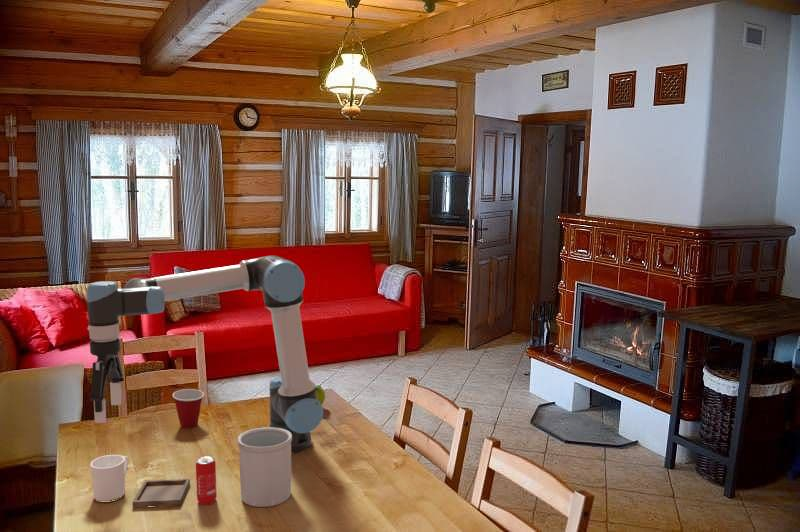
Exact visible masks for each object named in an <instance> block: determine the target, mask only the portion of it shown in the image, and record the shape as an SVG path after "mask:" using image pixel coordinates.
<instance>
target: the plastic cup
mask: <svg viewBox="0 0 800 532" xmlns="http://www.w3.org/2000/svg"><path fill="white" fill-rule="evenodd" d="M204 396H205V392H203V391H202V390H199V389H194V388H185V389H179V390H176V391H174V392H173V393H172V398H173V400H174V403H175V408H176V411H177V412H176V413H177V417H178V419H179V421H178V422H179V424H180V428H182V427H183V428H182V429H186V428H188V429H194V428H196V427H197V426H198V424H199V418H200V414H201V413H200V412H201V407H202V406H201V405H202V402H203V398H204ZM193 427H194V428H193Z"/></svg>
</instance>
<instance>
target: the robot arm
mask: <svg viewBox="0 0 800 532" xmlns="http://www.w3.org/2000/svg"><path fill="white" fill-rule="evenodd" d="M305 280H306V279H305V276H304V272H303V271H302V269H301V268H300V267H299V266H298V265H297V264H296V263H294V262H293V261H291V260H289V259H286V258H284V257H282V256H279V255H266V256H265V255H264V256H260V257H256V258H250V259H244V260H241V261H240V262H239V264H234V265H228V266H222V267H214V268H209V269H202V270H195V271H190V272H181V273H174V274H168V275H163V276H155V277H149V278H140V277H134V278H132V279H130V280H128V281H127V282H126V284H125V285H124V288H119V287H118V285H117V283H116V281H110V280H109V281H108V280H107V281H106V280H105V281H95V282H91V283H89V284H88V285H87V287H86V290H87V291H86V293H87V294H86V302H87V303H86V304H87V315H88V318H87V319H88V327H87V329H86V330H88V331H89V332H88V333H89V339H90V341H89V351H90V354H91V355H92V356H95V357H97V359H96V361H95V362H92V376H91V385H90V386H91V387H90V396H89V401H93V409H94V410H93V414H94V424H106V423H107V409H106V398H104V397H105V393H106V392H105V391H106V385H107V380H108V377H109V379H110V381H111V382H110V383H109V388H110V389H109V390H110V405H111V406H122V404H123V403H122V400H123V399H122V386H121V385H122V384H121V383H122V382H124V379H125V378H124V377H123V376H124V374H123V373H124V372H123V369H122V366H121V362H120V357H119V352H120V351H121V339H120V338H119V337H120V335H121V334H120V332H121V331H120V322H119V317H125V316H140V315H141V316H142V315H153V314H155V315H156V314H160V313H163V312H164V310H165V304H166V303H165V302H169V301H175V300H176V301H177V300H182V299H187V298H193V297H200V296H205V295H212V294H218V293H223V292H230V291H236V290H242V289H243V290H244V291H246V292H250V291H262V297H263V302H264V303H263V304H264V308H266V309H267V310H268V311H270V315H271V321H272V329H273V333H274V334H273V335H274V340H275V347H276V355H277V359H278V367H279V373H280V376H277V377H274V378H272V379H271V380H270V381H269V387H268V388H269V415H270V417H269V419H270V420H269V421H270V423H269V426H268V427H273V428H281V429H285V430H287V431H289V432H290V433H291V434H292V441H291V454H292V453H297V452H298V453H299V452H302V451H304V450H307V449H308V448H310V446H311V445H312V434H311V432H312V431H314V430H315V429H317V427H318V426H319V425H320V424H321V422H322V421H323V417H324V409H323V406H322V405H321V404H320V402H319V401H318V399H317V392H316V386H317V385H316V383H315V382H314V381H312V380H311V379H310V371H309V366H308V365H309V364H308V358H307V351H306V344H305V338H304V337H305V336H304V331H303V324H302V316H301V310H300V306H302V305H301V304H303V303H304V296H303V291H304V289H305V285H306V283H305V282H306V281H305Z"/></svg>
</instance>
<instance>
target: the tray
mask: <svg viewBox="0 0 800 532" xmlns="http://www.w3.org/2000/svg"><path fill="white" fill-rule="evenodd" d="M190 486H191V479H190V478H180V479H179V478H178V479H174V478H173V479H172V478H171V479H150V480H146V479H145V480H144V482H143V483H142V485H141V487H140V488H139V490H138V492H137V493H136V495H135V497H134V499H133V500H132V501H131V502H132V503H131V504H132V508H133V507H148V506H173V507H181V506H182V503H183V501H184V499H185V497H186V495H187V492H188V490H189V488H190ZM148 508H149V507H148Z"/></svg>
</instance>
